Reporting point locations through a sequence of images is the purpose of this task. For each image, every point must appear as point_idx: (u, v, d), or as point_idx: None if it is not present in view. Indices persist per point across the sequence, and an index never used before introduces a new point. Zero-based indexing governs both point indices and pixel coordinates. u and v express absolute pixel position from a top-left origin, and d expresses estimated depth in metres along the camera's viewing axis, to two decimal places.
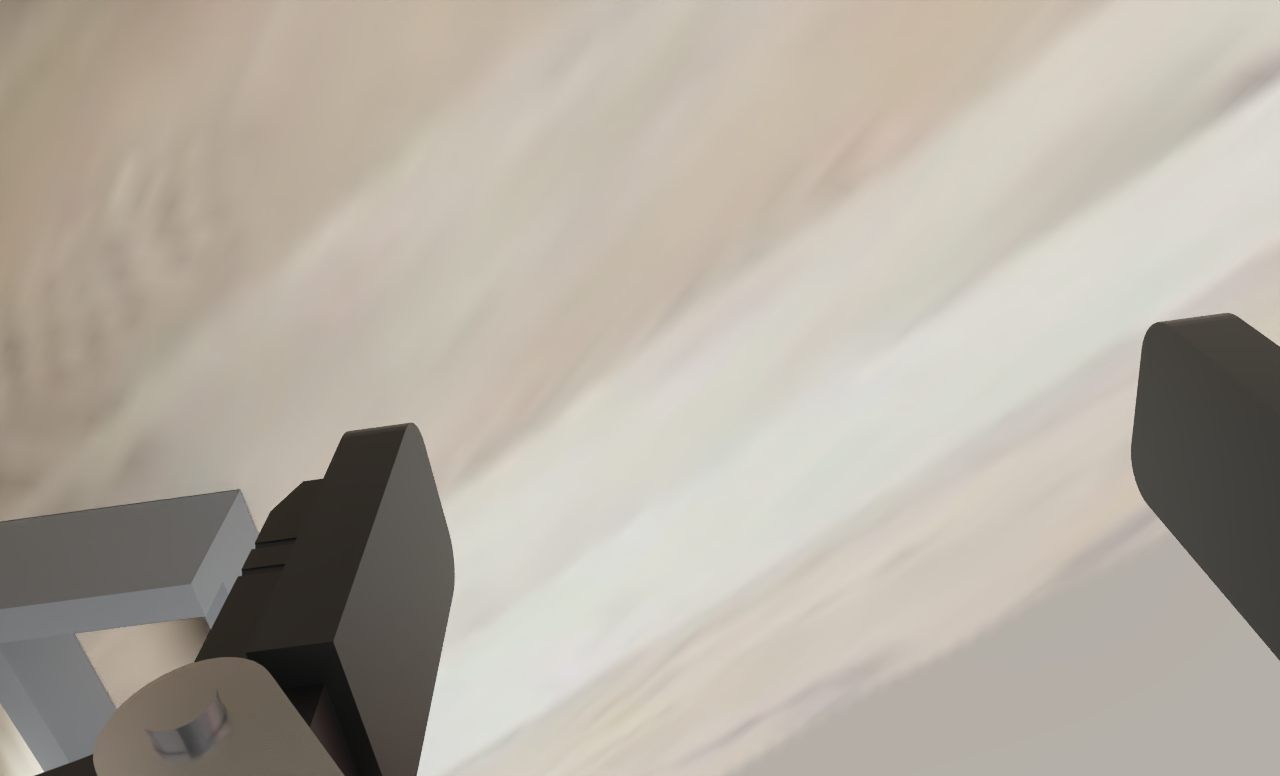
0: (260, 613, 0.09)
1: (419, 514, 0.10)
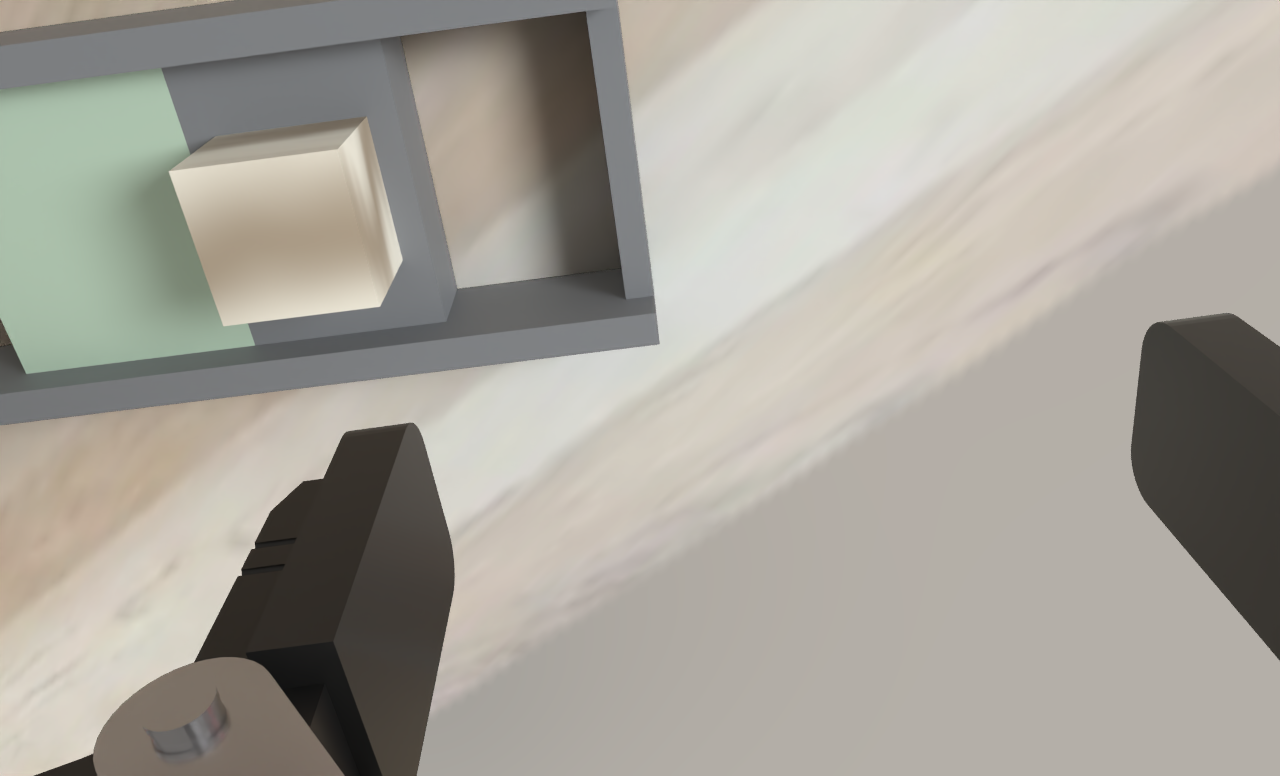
0: (260, 613, 0.09)
1: (419, 514, 0.10)
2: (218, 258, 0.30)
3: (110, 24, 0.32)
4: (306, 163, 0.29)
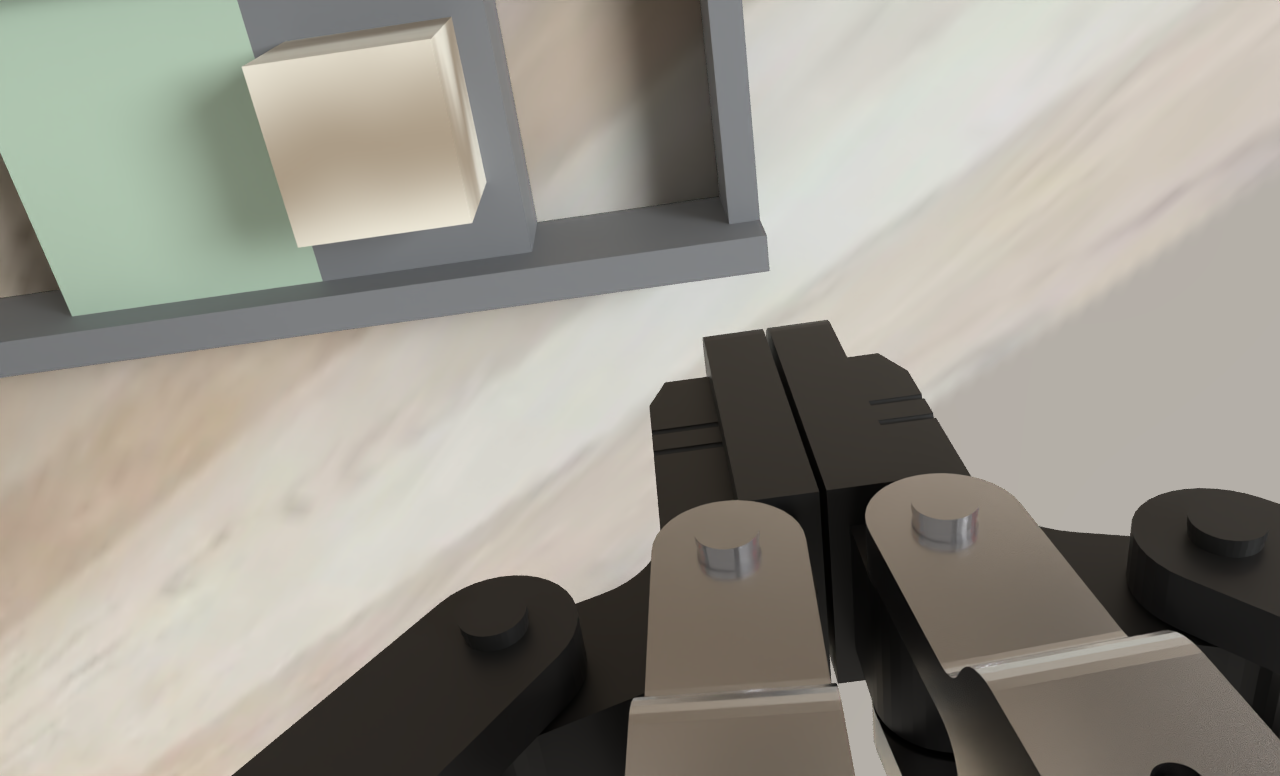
0: (696, 483, 0.10)
1: None
2: (294, 168, 0.27)
3: None
4: (395, 55, 0.26)
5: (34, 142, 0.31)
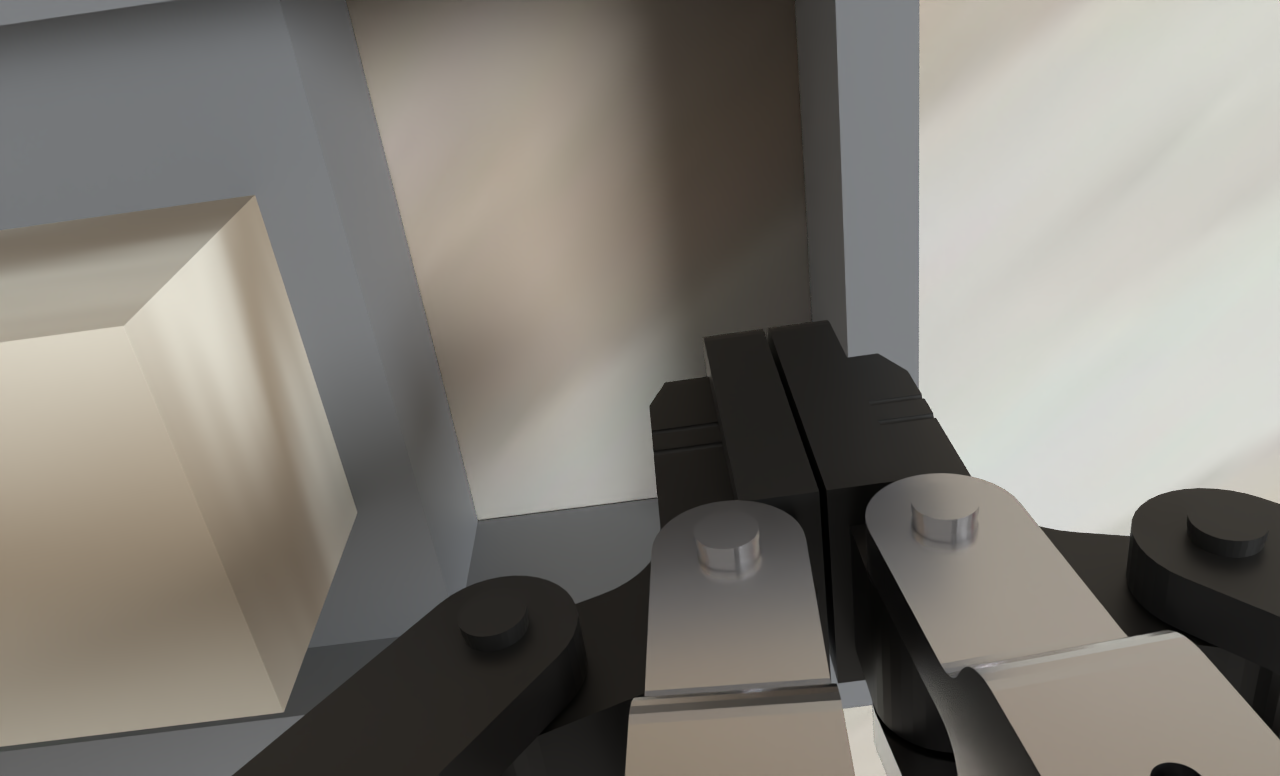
0: (696, 483, 0.10)
1: None
2: None
3: None
4: (31, 366, 0.10)
5: None
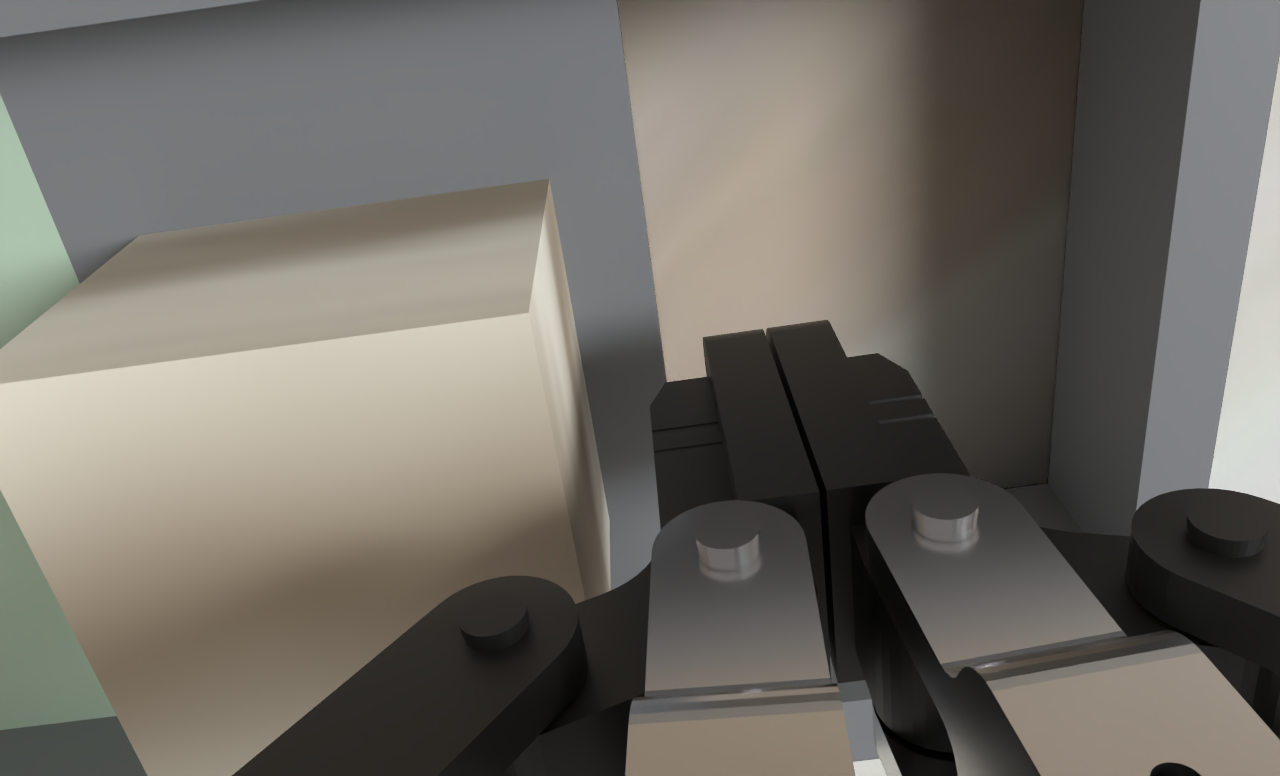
0: (697, 483, 0.10)
1: None
2: (133, 632, 0.10)
3: None
4: (417, 359, 0.09)
5: None
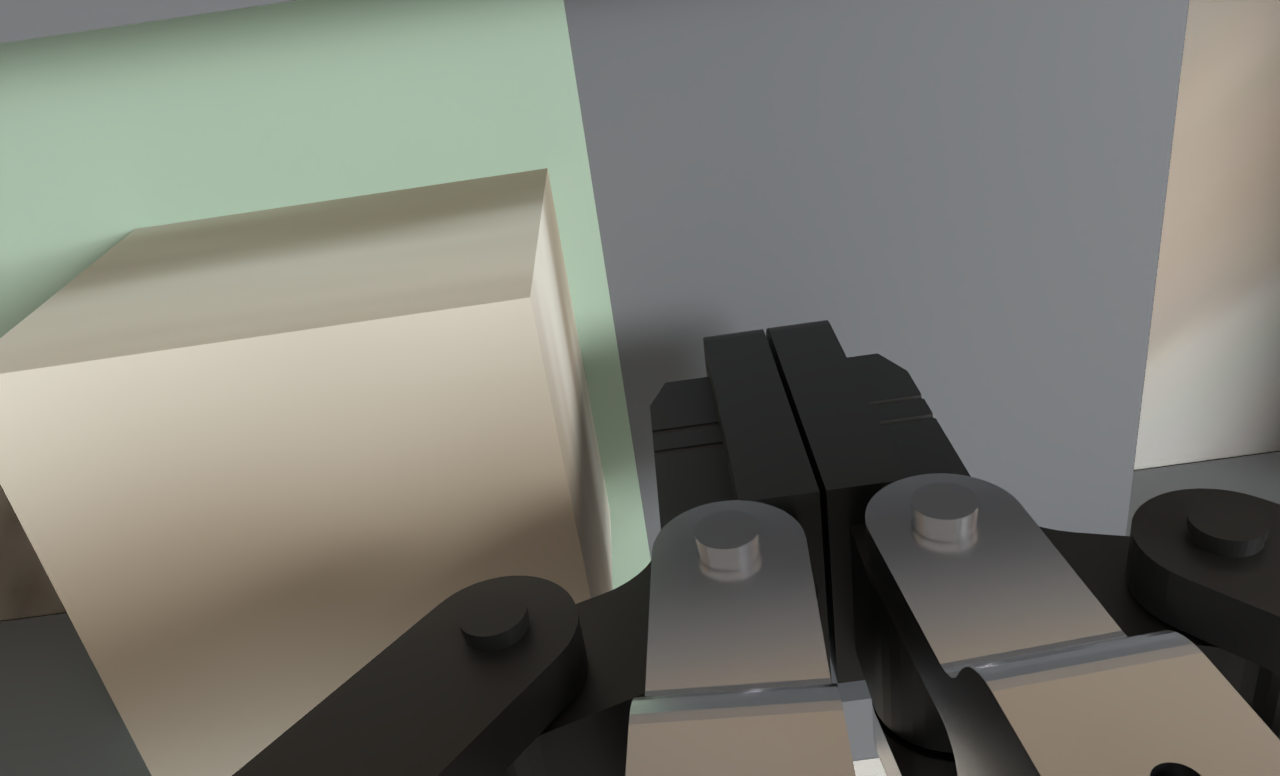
0: (696, 483, 0.10)
1: None
2: (134, 624, 0.10)
3: None
4: (419, 345, 0.09)
5: None
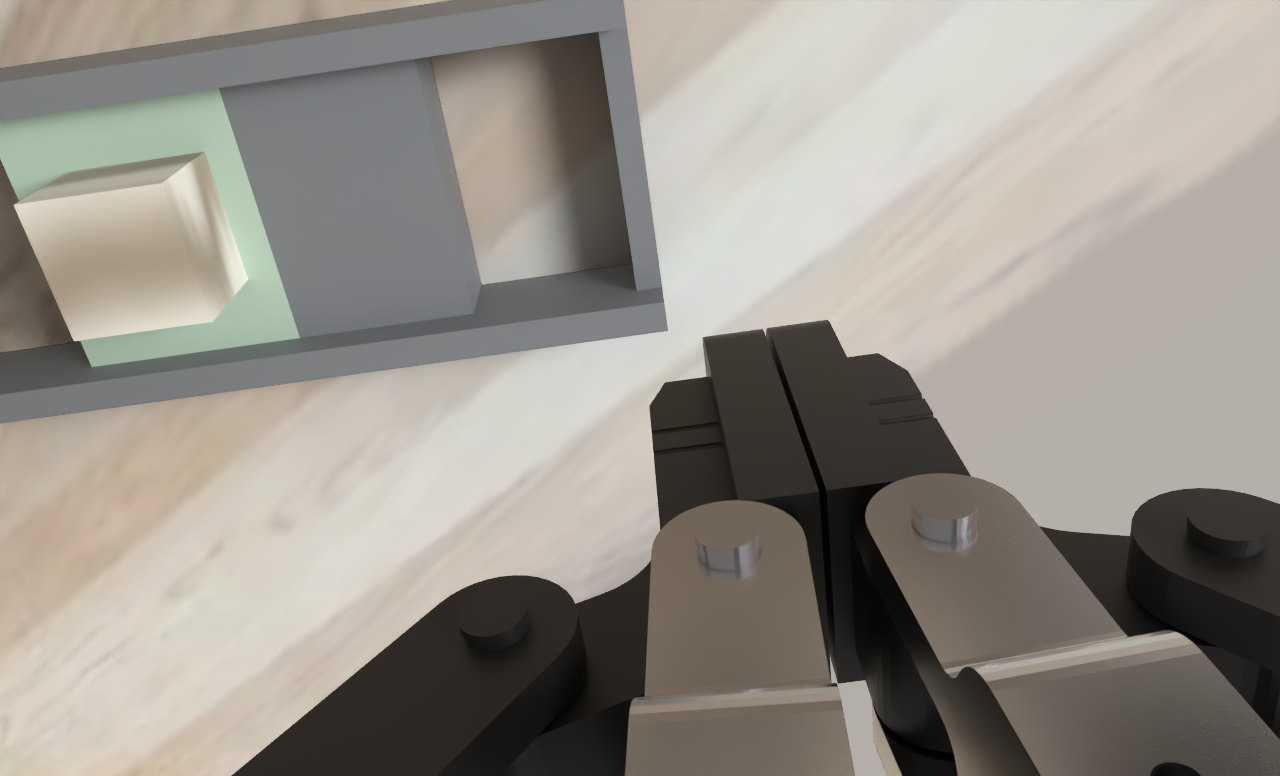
0: (696, 483, 0.10)
1: None
2: (64, 281, 0.34)
3: (173, 49, 0.35)
4: (134, 195, 0.33)
5: None
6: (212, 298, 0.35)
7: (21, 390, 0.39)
